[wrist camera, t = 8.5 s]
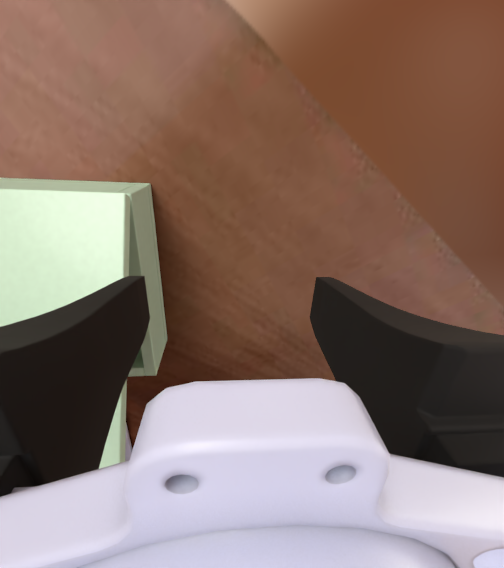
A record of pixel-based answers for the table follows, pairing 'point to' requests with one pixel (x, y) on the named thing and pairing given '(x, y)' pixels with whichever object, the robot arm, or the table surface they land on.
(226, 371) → the table surface
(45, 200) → the lid
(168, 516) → the robot arm
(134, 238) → the green lidded box
